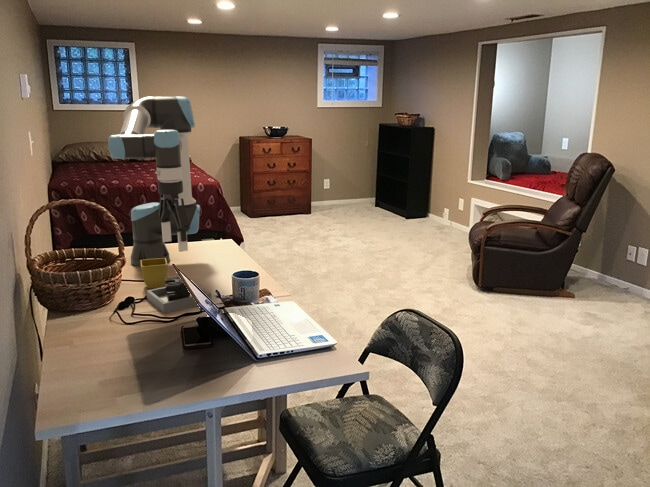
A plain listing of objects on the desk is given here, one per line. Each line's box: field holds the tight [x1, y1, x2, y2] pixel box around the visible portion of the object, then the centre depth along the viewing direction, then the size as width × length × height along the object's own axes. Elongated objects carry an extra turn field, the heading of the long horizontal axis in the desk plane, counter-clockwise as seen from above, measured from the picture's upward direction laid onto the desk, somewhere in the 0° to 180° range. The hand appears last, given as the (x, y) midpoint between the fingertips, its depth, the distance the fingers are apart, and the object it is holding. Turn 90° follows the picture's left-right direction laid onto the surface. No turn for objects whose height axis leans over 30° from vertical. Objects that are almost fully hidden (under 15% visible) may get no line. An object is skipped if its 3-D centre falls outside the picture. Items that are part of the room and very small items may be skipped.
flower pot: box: [140, 258, 168, 289], centre depth 200 cm, size 9×9×9 cm
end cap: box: [165, 274, 190, 302], centre depth 186 cm, size 10×7×7 cm
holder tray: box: [146, 282, 212, 314], centre depth 187 cm, size 15×16×3 cm
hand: (175, 246), depth 182 cm, fingers open, 13 cm apart
